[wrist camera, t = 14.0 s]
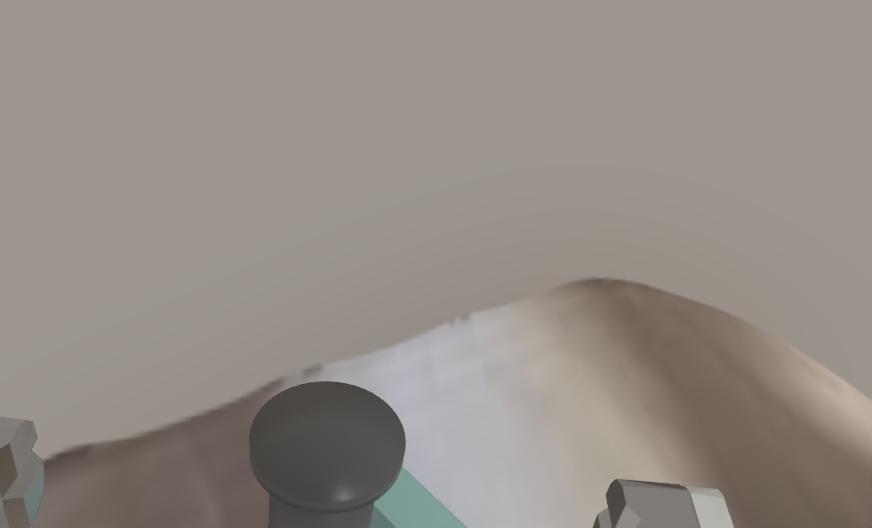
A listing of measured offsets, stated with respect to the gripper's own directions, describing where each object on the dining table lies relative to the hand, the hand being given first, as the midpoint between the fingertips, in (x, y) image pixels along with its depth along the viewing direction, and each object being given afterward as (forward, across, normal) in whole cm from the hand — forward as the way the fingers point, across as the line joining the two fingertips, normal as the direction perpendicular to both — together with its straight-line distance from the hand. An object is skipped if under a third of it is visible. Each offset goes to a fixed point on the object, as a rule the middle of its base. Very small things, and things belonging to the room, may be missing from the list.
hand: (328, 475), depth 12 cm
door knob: (+15, +1, +30) cm, 34 cm away
